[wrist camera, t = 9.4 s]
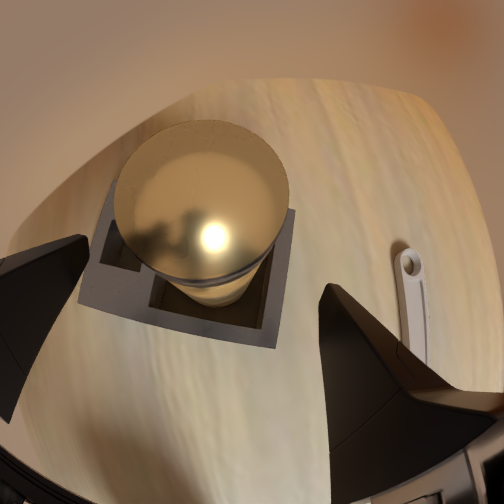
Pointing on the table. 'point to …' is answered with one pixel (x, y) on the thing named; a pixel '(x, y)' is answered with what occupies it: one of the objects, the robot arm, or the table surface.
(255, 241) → the gold tin can
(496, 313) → the table surface
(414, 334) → the adjustable wrench
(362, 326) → the robot arm
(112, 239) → the grey rectangular holder
